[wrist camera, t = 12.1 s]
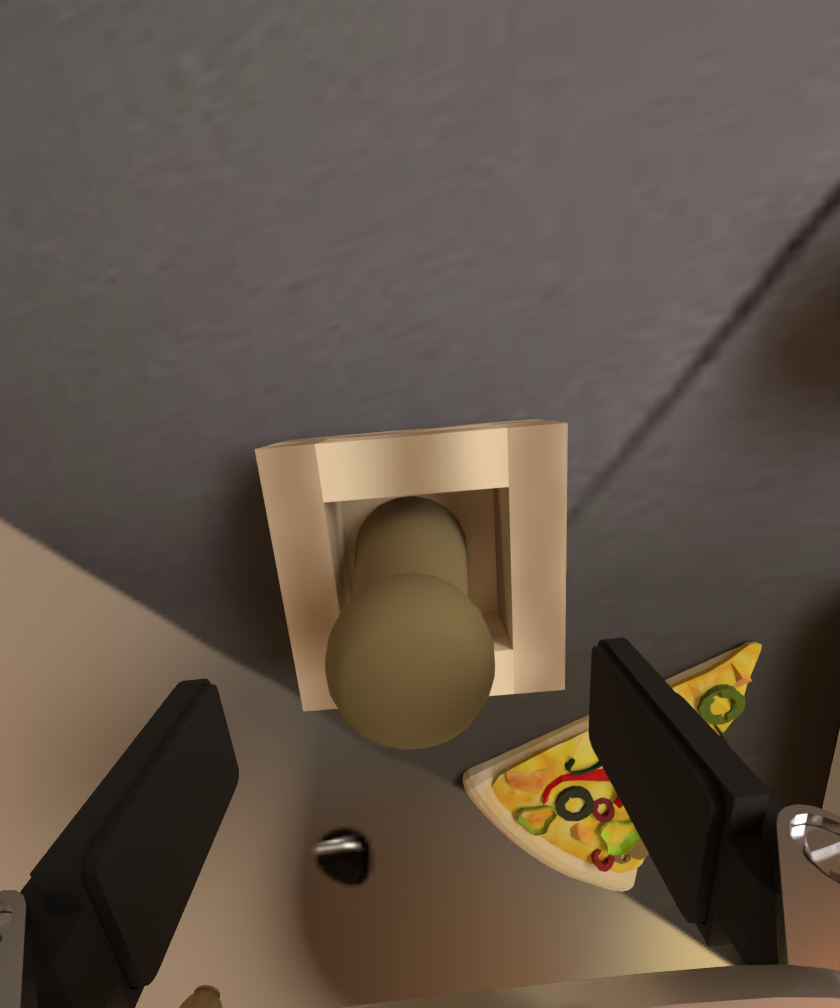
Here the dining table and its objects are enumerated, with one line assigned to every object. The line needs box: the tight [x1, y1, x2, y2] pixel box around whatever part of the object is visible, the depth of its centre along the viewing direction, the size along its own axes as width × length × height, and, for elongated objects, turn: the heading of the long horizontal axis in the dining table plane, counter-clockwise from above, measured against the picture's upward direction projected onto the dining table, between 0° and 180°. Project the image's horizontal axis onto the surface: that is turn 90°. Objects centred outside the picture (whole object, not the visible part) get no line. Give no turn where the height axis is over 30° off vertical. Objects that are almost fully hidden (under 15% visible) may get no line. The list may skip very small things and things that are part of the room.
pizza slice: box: [463, 642, 762, 892], centre depth 25 cm, size 16×21×3 cm
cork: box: [325, 496, 495, 750], centre depth 16 cm, size 6×6×11 cm
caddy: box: [255, 419, 568, 711], centre depth 20 cm, size 13×13×4 cm
